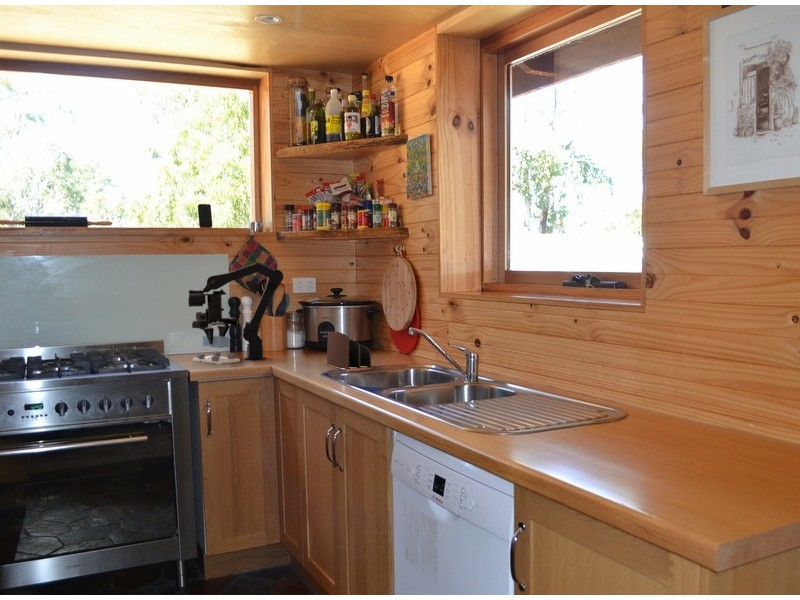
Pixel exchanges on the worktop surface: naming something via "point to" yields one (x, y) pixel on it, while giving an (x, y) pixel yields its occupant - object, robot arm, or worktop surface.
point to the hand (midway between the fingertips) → (215, 343)
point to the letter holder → (346, 352)
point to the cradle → (216, 358)
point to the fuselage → (216, 341)
